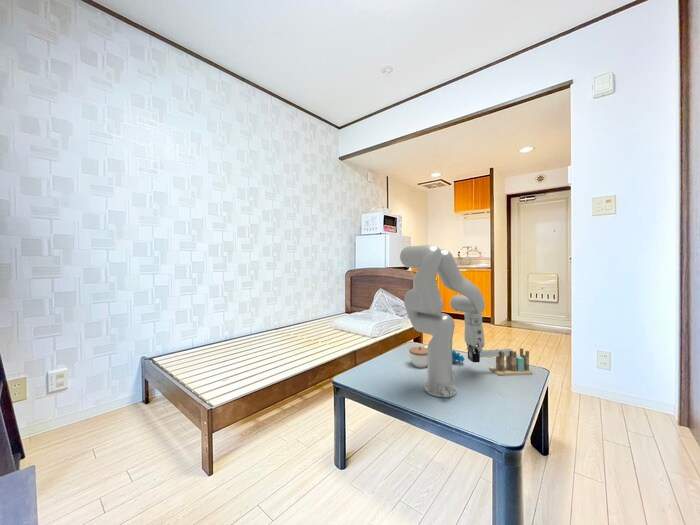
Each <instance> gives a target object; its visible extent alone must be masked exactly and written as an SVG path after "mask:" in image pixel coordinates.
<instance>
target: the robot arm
mask: <svg viewBox="0 0 700 525" xmlns="http://www.w3.org/2000/svg"><path fill="white" fill-rule="evenodd" d="M399 260H400V262H401V264H402V265H403V266H405V268H413V269H417V271H416V274H415V275H414V278H413V285H414V288H411V289H409V290H408V291H406V293H405V294H404V299H403V303H404V304H403V305H404V307H405V308H404V309H405V311H406V314H407V316H408V319H409V321H410V323H411V326H412V328H413V329H414V330H415V331H416V332H419V333H422V334H426V335H430V336H432V338H430V341H429V342H428V343H427V347H426V348H427V349H428V365H427V382H426V383H424V385H423V389H424V391H425V393H427V394H428V395H430V396H433V397H437V398H451V397H454V396H456V395H457V392H458V391H457V387H456V386H454V385H453V363H452V351H453V337H454V332H455V320H454V318H453V317H452V316H451V315H449V314H447V313H445V312H442V311H443V309H444V300H443V298H442V294H441V292H440V289H439V286H438V282H437V275H438V277H439V279H440V281H441V282H442V285H443V286H444V287H445V288H447V289H449V290H451V291H453V292H456V293H458V294H456V295H454V296H452V297H451V299H450V302H449V305H450V307H451V309H452V310H453V311H456V312H459V313H464V342H465V343H466V348H467V359H468V360H469V347H473V353H472V361H473V362H472V361H471V362H472V363H480V362H481V357H480V352H481V351H482V350H484V349H483V348H485V334H484V327H483V312H484V310H485V309H486V302H485V298H484V296H483V294H482V292H481V290H480V289H479V287H478V286H477V285H475V284H474V283H472V282H471V280H469V279H468V278H466V277H464V276H463V275H462V272H461V270H460V268H459V267H458V265H457V263H456V260H455V258H454V256H453V254H452V253H451V251H450V250H447V249H440V248H439V247H438V246H436V245H431V244H428V245H427V244H426V245H410V246H406V247H404V248H403V249H402V250H401V251H400V254H399ZM475 348H478V349H476V350H475Z"/></svg>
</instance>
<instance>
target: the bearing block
mask: <svg viewBox="0 0 700 525" xmlns="http://www.w3.org/2000/svg"><path fill="white" fill-rule="evenodd" d="M495 350H500V349H495ZM516 354H517V351H514V350H513V352H511V356H504V352H501V357H495V366H489V367H488V370H490V371H491V372H492V373H494V374H495V375H497V376H498V377H505V376H506V377H508V376H522V375H523V376H525V375H526V376H527V375H528V374H529V375H533V371H531V370H530V351H529V350H525V352H524V348H522V347H521V348H519V356H521V357H522V358H524V372H518V371H517V366H516Z"/></svg>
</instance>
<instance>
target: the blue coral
mask: <svg viewBox="0 0 700 525" xmlns="http://www.w3.org/2000/svg"><path fill="white" fill-rule="evenodd" d="M465 360H466V359H465V358H464V356H463V354H461V353H460V352H456V350H455V349H454V350H453V349H452V364H453V363H454V361H457V362H460V363H461V362H462V363H464V361H465Z"/></svg>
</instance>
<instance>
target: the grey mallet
mask: <svg viewBox="0 0 700 525" xmlns="http://www.w3.org/2000/svg"><path fill="white" fill-rule="evenodd" d="M476 349H478V348H475V350H476ZM513 351H514V350H512V349H511V348H505V349H504V348H503V349H499V350H496V349H483V350H482V351H481V352H480V358H496V357H501V352H504V357H506V356H511V352H513ZM472 353H473V347H469V359H468V360H469V361H470V362H472V363H474V362H473V361H472Z"/></svg>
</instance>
